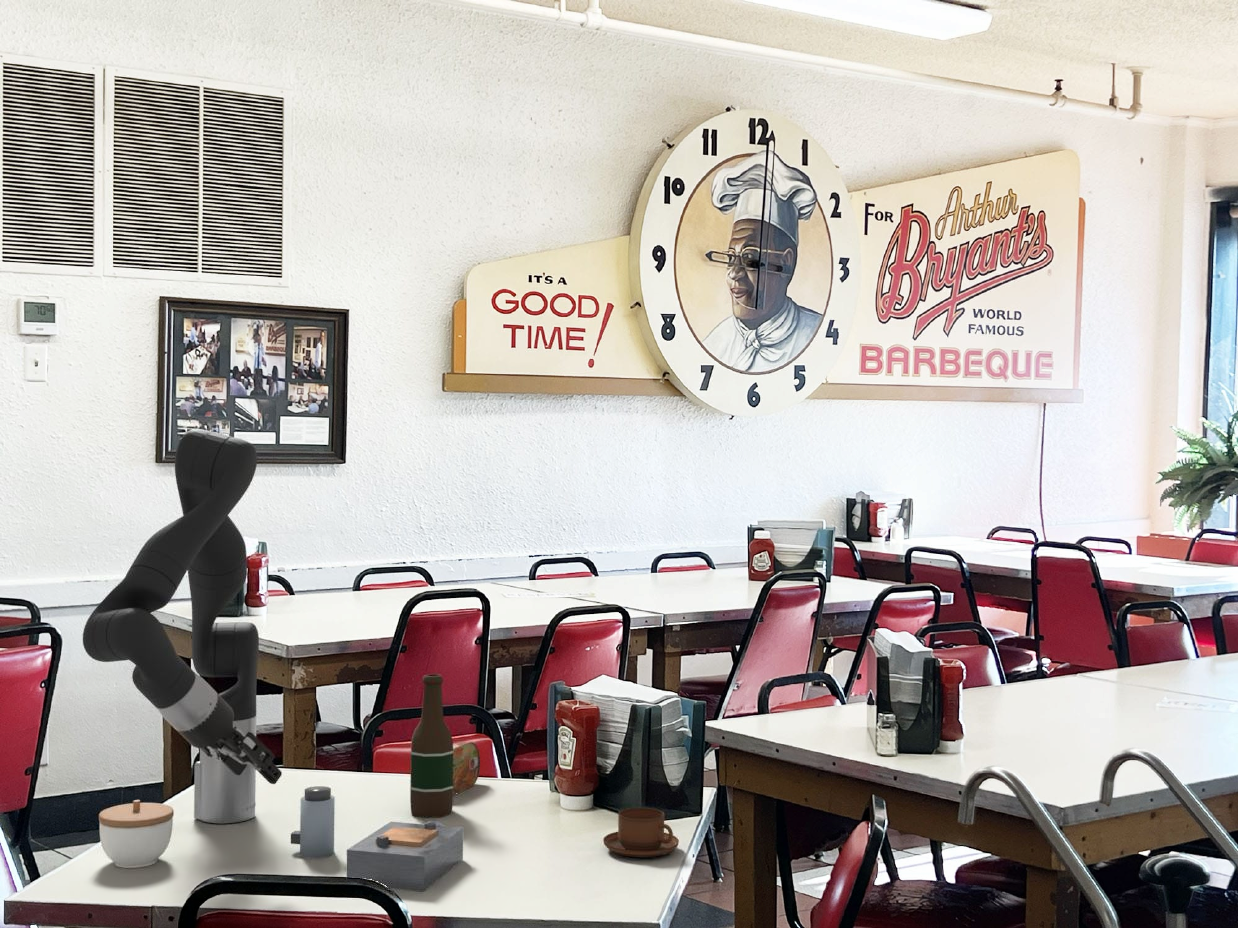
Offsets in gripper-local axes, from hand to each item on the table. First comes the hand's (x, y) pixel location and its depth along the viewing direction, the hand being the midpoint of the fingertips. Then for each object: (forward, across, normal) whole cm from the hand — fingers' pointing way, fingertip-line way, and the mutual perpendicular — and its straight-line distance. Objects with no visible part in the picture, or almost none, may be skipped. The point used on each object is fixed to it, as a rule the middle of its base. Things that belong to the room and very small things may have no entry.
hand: (259, 774), depth 206 cm
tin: (+48, +13, -28) cm, 57 cm away
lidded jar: (+3, +17, +17) cm, 24 cm away
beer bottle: (+38, +5, -18) cm, 43 cm away
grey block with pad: (+21, -16, -1) cm, 27 cm away
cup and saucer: (+43, -37, -22) cm, 61 cm away
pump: (+18, 0, +2) cm, 18 cm away
